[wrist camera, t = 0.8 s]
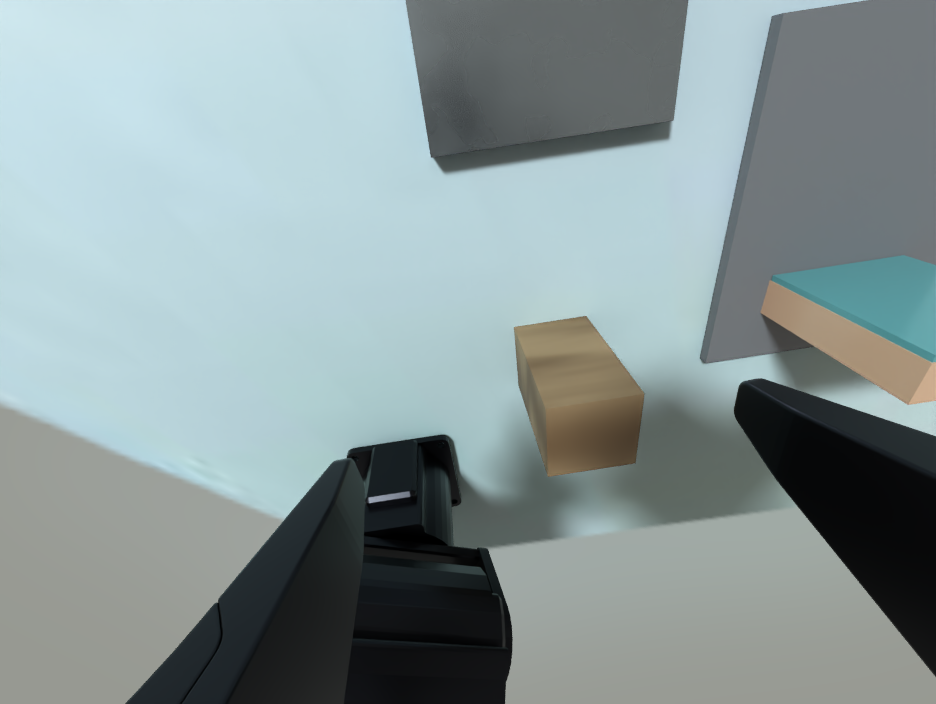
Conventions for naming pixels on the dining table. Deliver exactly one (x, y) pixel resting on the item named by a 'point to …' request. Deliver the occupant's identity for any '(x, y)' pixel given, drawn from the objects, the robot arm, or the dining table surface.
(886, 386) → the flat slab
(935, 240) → the rubber mat
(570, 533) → the dining table surface
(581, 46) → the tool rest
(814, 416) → the robot arm
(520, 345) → the walnut block
